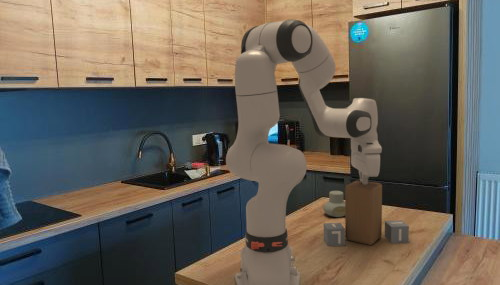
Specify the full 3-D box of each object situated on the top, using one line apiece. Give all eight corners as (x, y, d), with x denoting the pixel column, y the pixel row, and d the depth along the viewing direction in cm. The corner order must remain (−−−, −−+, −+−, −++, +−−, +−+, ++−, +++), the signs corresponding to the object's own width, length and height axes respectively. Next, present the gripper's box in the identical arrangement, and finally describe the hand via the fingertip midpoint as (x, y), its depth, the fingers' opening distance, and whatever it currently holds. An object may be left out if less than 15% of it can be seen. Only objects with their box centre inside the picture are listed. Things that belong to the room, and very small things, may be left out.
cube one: (408, 243, 131) (409, 225, 131) (391, 243, 131) (391, 226, 130) (401, 236, 138) (401, 219, 137) (384, 237, 137) (384, 220, 137)
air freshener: (344, 211, 168) (344, 189, 167) (352, 217, 160) (352, 193, 158) (320, 213, 166) (320, 190, 165) (327, 219, 158) (327, 195, 157)
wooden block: (356, 231, 143) (356, 179, 141) (382, 237, 137) (383, 182, 134) (344, 240, 136) (344, 184, 133) (371, 246, 129) (372, 188, 127)
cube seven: (344, 245, 131) (345, 228, 130) (327, 246, 131) (327, 228, 130) (340, 238, 137) (340, 222, 136) (323, 239, 137) (323, 222, 136)
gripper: (346, 141, 142) (346, 177, 144) (364, 149, 122) (364, 191, 124) (363, 140, 142) (363, 176, 144) (383, 148, 122) (383, 190, 124)
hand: (363, 183), depth 134 cm, fingers closed, pressing on wooden block
